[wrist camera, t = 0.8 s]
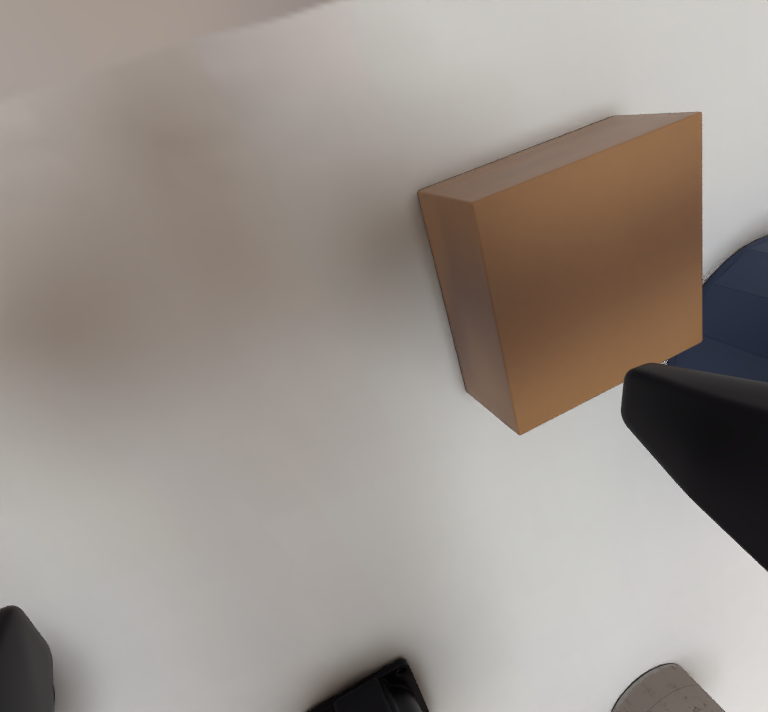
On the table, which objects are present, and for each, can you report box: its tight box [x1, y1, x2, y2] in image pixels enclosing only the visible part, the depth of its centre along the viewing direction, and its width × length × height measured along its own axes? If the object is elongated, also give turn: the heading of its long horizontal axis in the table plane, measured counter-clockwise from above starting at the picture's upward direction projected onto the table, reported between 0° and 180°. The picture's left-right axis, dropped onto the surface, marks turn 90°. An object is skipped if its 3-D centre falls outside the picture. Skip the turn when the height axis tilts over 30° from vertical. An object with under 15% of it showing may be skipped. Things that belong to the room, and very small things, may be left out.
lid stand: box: [418, 112, 702, 435], centre depth 23 cm, size 10×10×4 cm
